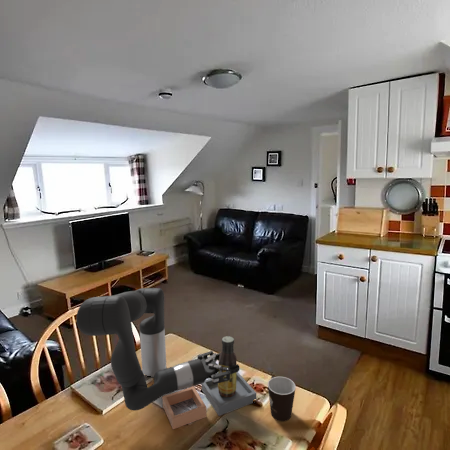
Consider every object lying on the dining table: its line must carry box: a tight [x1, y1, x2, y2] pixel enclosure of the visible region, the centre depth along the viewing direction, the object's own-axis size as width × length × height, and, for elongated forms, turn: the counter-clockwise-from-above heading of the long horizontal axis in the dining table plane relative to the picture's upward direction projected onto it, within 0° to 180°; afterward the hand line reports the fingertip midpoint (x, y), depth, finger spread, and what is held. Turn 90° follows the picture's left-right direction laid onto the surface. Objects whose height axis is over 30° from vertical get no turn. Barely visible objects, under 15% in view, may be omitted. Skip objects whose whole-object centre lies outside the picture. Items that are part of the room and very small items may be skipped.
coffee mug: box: [267, 375, 297, 422], centre depth 103 cm, size 12×9×10 cm
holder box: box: [161, 386, 208, 430], centre depth 104 cm, size 11×11×4 cm
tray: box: [201, 371, 257, 417], centre depth 111 cm, size 14×14×3 cm
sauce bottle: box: [217, 335, 237, 397], centre depth 109 cm, size 7×6×20 cm
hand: (232, 360), depth 110 cm, fingers open, 8 cm apart
